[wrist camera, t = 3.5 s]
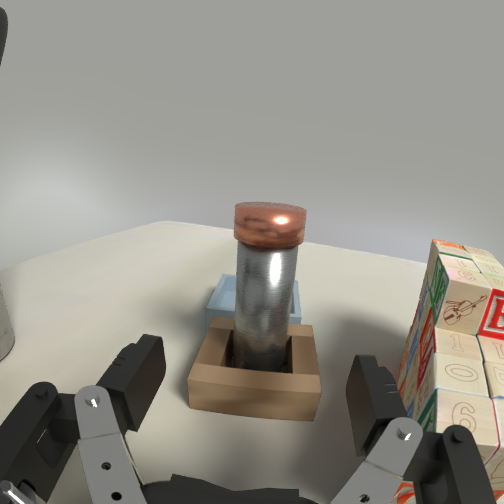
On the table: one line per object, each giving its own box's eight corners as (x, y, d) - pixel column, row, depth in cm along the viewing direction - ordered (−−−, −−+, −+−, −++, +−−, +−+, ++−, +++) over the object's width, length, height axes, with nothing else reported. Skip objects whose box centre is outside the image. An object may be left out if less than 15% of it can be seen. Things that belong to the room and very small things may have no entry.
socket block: (189, 408, 20) (187, 378, 19) (213, 342, 28) (213, 316, 27) (313, 420, 19) (321, 392, 18) (307, 351, 28) (311, 325, 27)
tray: (205, 333, 30) (205, 308, 29) (222, 295, 38) (222, 273, 37) (297, 343, 29) (301, 317, 28) (294, 302, 38) (297, 280, 37)
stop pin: (224, 393, 22) (229, 210, 17) (232, 359, 26) (240, 200, 22) (283, 399, 21) (309, 216, 17) (284, 364, 26) (303, 205, 21)
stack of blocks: (444, 543, 7) (593, 388, 4) (351, 530, 10) (468, 371, 6) (453, 359, 25) (489, 248, 22) (402, 348, 28) (432, 235, 24)
